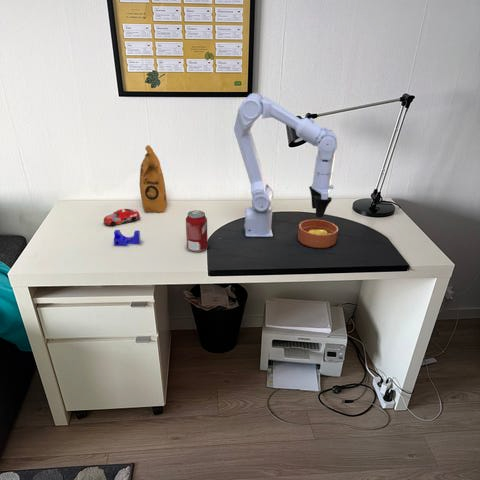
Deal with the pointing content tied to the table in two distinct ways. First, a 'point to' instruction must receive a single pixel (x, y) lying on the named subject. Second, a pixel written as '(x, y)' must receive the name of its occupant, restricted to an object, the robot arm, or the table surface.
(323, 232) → the yellow squeeze bottle
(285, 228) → the table surface
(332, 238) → the basin
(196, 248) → the soda can
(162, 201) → the coffee package
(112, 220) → the race car
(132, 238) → the cable holder
